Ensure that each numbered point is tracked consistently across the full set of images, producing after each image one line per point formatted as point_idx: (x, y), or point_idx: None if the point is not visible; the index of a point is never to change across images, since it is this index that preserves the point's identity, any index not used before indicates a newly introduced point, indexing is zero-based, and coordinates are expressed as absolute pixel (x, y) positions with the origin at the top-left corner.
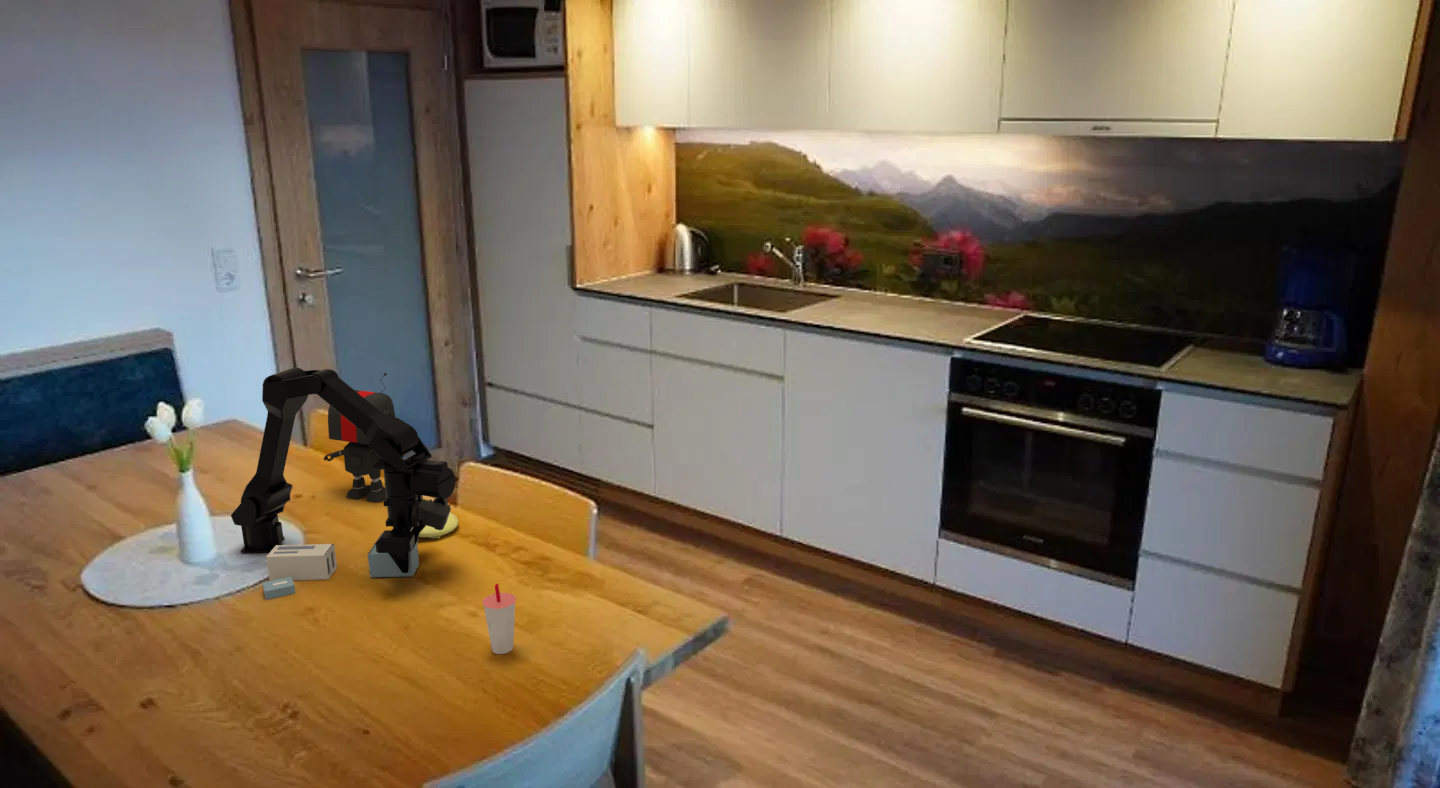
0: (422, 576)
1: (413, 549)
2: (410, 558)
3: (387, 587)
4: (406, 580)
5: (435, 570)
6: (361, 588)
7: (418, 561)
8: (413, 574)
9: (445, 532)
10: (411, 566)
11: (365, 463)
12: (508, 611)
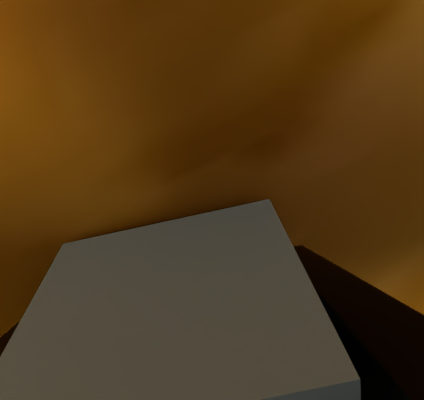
0: (244, 127)
1: (177, 397)
2: (324, 318)
3: (417, 282)
4: (319, 216)
5: (109, 59)
6: None
7: (62, 259)
8: (248, 205)
9: None
10: (291, 250)
11: None
12: None
